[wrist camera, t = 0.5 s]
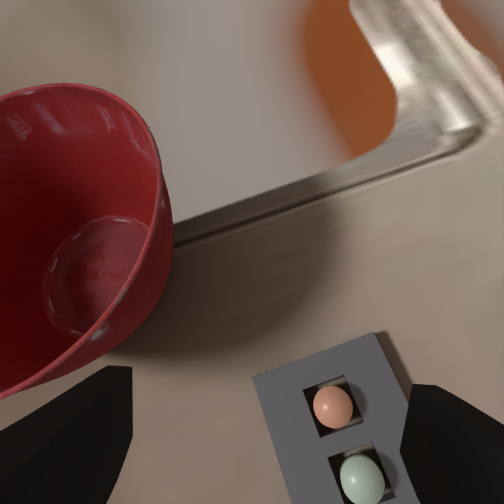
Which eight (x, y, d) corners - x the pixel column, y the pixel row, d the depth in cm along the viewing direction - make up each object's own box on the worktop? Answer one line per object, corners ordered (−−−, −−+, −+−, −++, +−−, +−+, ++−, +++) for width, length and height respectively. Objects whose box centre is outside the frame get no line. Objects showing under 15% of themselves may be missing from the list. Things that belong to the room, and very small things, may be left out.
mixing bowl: (16, 202, 47) (-114, 125, 33) (206, 151, 44) (151, 41, 29) (-14, 421, 36) (-230, 447, 22) (236, 376, 33) (170, 374, 19)
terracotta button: (357, 418, 28) (359, 420, 27) (322, 430, 28) (322, 433, 27) (341, 380, 30) (342, 380, 28) (308, 392, 30) (307, 393, 28)
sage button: (388, 492, 26) (392, 499, 25) (350, 505, 26) (351, 512, 25) (369, 447, 27) (372, 451, 26) (333, 460, 28) (334, 465, 26)
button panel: (499, 601, 24) (511, 615, 22) (342, 651, 24) (343, 668, 23) (371, 334, 32) (373, 331, 30) (255, 377, 32) (252, 377, 31)
